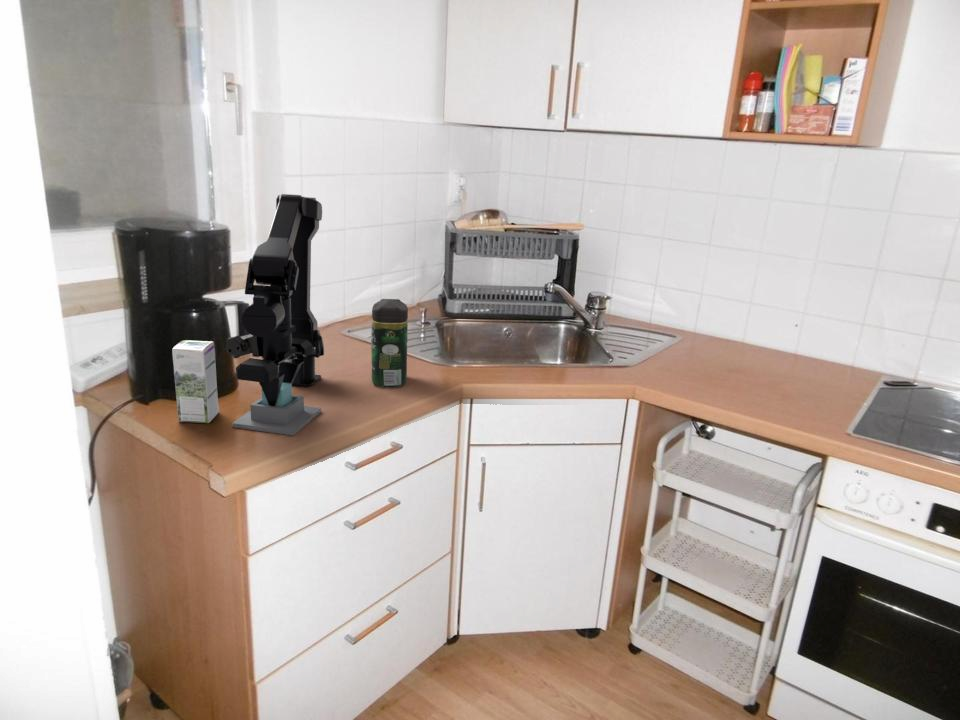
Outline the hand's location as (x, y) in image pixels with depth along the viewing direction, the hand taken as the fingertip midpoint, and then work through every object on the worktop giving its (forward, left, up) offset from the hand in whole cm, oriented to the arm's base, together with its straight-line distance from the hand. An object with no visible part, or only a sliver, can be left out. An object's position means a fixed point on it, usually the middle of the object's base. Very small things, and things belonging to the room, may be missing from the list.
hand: (277, 401), depth 127 cm
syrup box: (+4, -14, -4) cm, 15 cm away
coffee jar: (-27, +13, -4) cm, 30 cm away
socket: (0, 0, -4) cm, 4 cm away
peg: (0, 0, -1) cm, 1 cm away
